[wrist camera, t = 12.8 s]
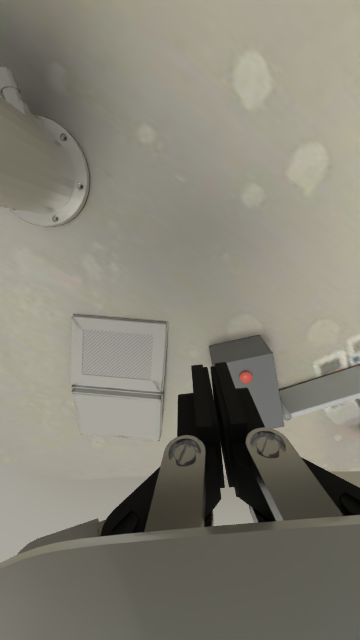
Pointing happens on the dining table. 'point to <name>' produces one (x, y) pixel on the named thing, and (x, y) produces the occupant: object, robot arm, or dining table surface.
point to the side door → (320, 393)
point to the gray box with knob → (253, 374)
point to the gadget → (118, 376)
